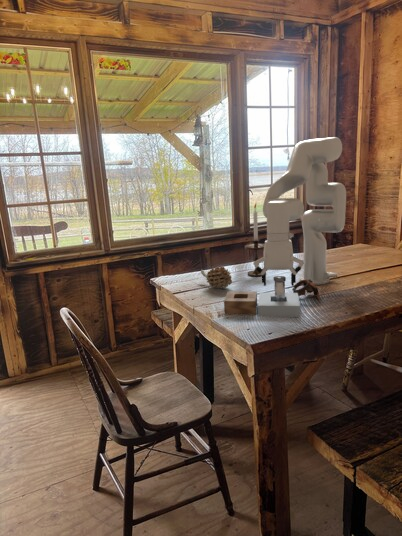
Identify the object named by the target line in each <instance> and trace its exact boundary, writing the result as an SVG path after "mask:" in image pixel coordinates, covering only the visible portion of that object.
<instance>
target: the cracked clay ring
mask: <svg viewBox="0 0 402 536" xmlns="http://www.w3.org/2000/svg"><path fill="white" fill-rule="evenodd" d="M302 285H303V287H301V288H299V287H300V286H302ZM297 288H299V289H297ZM292 291H293V292H292V293H298V297H300V296H304V297H305V296H306V293H307V294H312V293H313V296H315V297H317V300H318V301H320V300H321V295H320V291H319V289H318V286H317V285H315V284H314V283H312V281H311V280H310V279H308V280H306V279H305V280H301V281H300V280H299V281H298V282H296V283H294V286H293V287H292Z"/></svg>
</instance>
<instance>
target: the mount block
mask: <svg viewBox="0 0 402 536" xmlns="http://www.w3.org/2000/svg"><path fill="white" fill-rule="evenodd" d="M223 307H224V309H223V310H224V315H236V316H237V315H240V316H241V315H244V316H245V315H248V316H249V315H250V316H251V315H252V316H256V315H257V310H258V292H257V291H249V290H247V291H231V290H230V291H227V293H226V295H225V298H224V300H223Z"/></svg>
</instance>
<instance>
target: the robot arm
mask: <svg viewBox="0 0 402 536" xmlns="http://www.w3.org/2000/svg"><path fill="white" fill-rule="evenodd" d="M342 152H343V143H342V141H341V139H340V138H339V137H337V136H333V137H322V138H312V139H305V140H303V141H299V142H298V143H296V144H295V145H294V146H293V149H292V153H291V155H290V158H289V162H288V164H287V167H286V171H285V173H284V174H282V175H281V176H280V177H279V178H277V180H275V181H274V182H273V183H272V184H271V185H270V187H269V188H268V190H267V192H266V195H265V197H264V201H263V205H262V213H263V215H264V218H266V239H265V241H264V243H263V244H264V249H263V256H262V257H260V258H259V259H258V260H257V261H253V266H254V268H256V270H257V271H258V272H259V273H260V274H261V275H262V276H261V284H263V286H264V287H266V286H267V272H268V271H284V270H285V271H286V270H289V272H290V278H291V279H290V280H291V281H290V284H291V286H292V287H294V285H295V284H296V283H297V282H296V281H297V279H296V278H297V277H296V275H297V274H298V273H299V272H301V270H302V268H303V276H300V278H299V281H301V280H305V279H306V280H308V279H310V280H311V281H312V283H314V284H315V285H316V286H318V285H325V284H328V283H330V278H335V279H336V278H338V272H333V271H331V272H328V270H327V245H328V244H327V240H326V237H325V236H324V234H323V233H331V234H332V233H334V234H335V233H341V232H342V231H343V230H344V228H345V225H346V211H347V210H346V209H347V208H346V206H347V189H346V186H345V185H344V184H343V183H341V182H329V179H328V178H329V176H328V175H329V171H328V168H327V166H326V165H325V163H331V162H334V161H336V160H338V159H339V158H340V156H341V155H342ZM303 185H305V186H306V187H305V199H306V203H307V205H309V206H312V207H332V209H325V208H324V209H321V208H320V209H317V208H316V209H309V210H305V205H304V203H303V201H302V200H301V199H300V198H296V197H295V198H293V197H289V198H286V197H284V198H283V197H282V198H281V196H282V195H284V194H286V193H288V192H290V191H292V190H294V189H296V188H299V187H301V186H303ZM300 218H301V227H302V233H303V234H302V235H303V260H302V259H299V258H298V257H296V256H294V248H293V243H292V240H291V238H294V237H295V235H294V233H291V232H290V221H296V220H298V219H300ZM294 262H295V263H297V264H298V265H297V266H296V267H294ZM261 263H263V267H262V268H261V266H260V264H261ZM258 264H259V265H258ZM265 272H266V274H265Z"/></svg>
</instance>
